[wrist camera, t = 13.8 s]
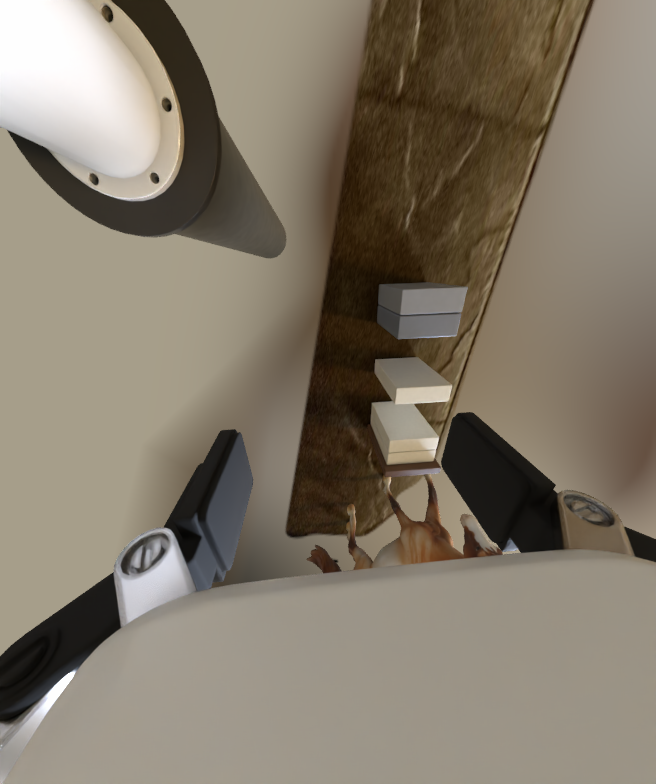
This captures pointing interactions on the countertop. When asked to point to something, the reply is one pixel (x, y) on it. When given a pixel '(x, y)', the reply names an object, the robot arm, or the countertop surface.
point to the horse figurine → (412, 539)
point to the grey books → (420, 309)
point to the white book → (411, 381)
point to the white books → (402, 440)
